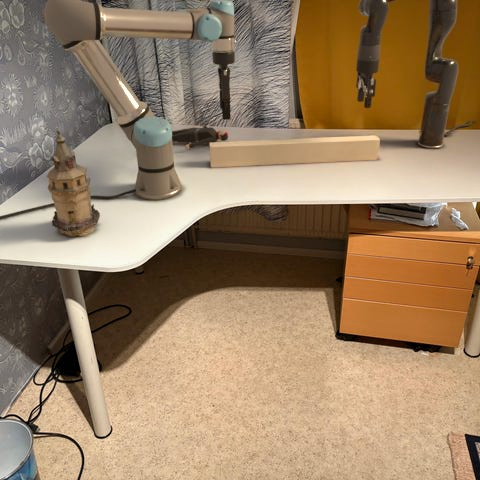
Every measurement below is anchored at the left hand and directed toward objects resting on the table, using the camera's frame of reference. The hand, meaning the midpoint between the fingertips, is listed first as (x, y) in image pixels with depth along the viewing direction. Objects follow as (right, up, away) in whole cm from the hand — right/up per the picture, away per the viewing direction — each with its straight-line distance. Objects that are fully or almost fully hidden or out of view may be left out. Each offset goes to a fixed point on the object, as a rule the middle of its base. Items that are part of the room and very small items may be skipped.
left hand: (225, 113), depth 189 cm
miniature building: (-42, -41, -33) cm, 68 cm away
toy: (-14, -5, +31) cm, 34 cm away
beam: (+25, -15, +11) cm, 32 cm away
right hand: (+50, +4, +3) cm, 50 cm away
